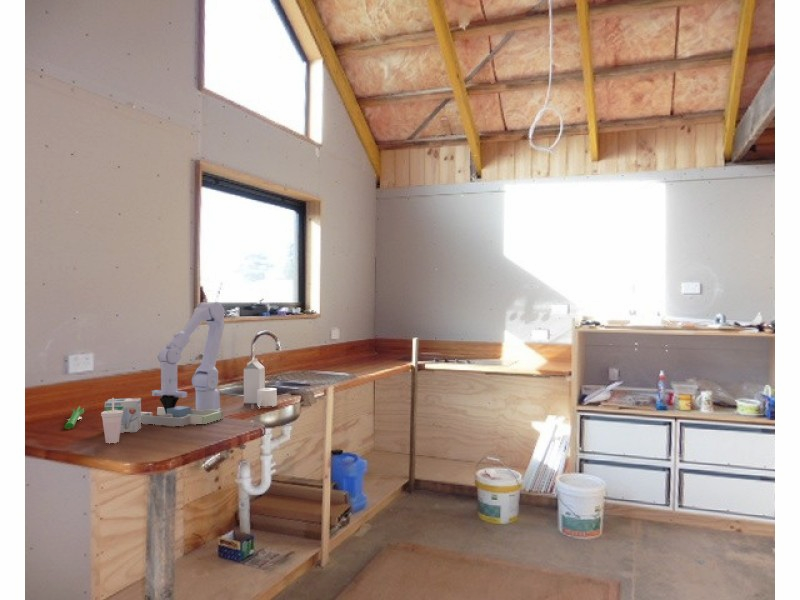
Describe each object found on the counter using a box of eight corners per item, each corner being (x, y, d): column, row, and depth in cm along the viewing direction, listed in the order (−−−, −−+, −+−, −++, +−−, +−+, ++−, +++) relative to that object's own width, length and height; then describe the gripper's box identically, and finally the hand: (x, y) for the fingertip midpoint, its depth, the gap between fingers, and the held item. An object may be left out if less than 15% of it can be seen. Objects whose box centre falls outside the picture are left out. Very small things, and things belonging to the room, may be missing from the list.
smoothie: (127, 439, 187) (126, 396, 187) (118, 444, 181) (117, 399, 181) (106, 440, 187) (106, 396, 187) (97, 445, 181) (96, 400, 181)
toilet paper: (259, 409, 239) (259, 392, 239) (256, 404, 250) (256, 388, 250) (279, 407, 242) (279, 391, 242) (275, 403, 253) (275, 387, 253)
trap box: (159, 414, 228) (159, 406, 228) (222, 419, 219) (222, 410, 219) (128, 422, 213) (128, 413, 213) (195, 428, 204) (195, 418, 204)
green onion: (75, 431, 204) (86, 411, 232) (75, 422, 204) (86, 403, 231) (59, 432, 202) (72, 412, 230) (59, 423, 202) (72, 404, 230)
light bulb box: (103, 434, 195) (103, 402, 195) (108, 430, 202) (108, 398, 202) (138, 432, 198) (138, 400, 198) (141, 428, 205) (141, 397, 205)
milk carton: (265, 401, 258) (264, 358, 258) (259, 403, 251) (259, 359, 251) (249, 400, 259) (249, 358, 259) (243, 403, 252) (243, 359, 252)
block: (178, 417, 222) (178, 405, 222) (190, 418, 220) (190, 407, 220) (166, 420, 217) (166, 408, 217) (179, 422, 214) (179, 409, 214)
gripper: (146, 380, 219) (146, 416, 219) (178, 381, 214) (178, 418, 214) (159, 378, 225) (159, 413, 225) (190, 379, 221) (190, 415, 221)
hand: (169, 415), depth 220 cm, fingers closed
